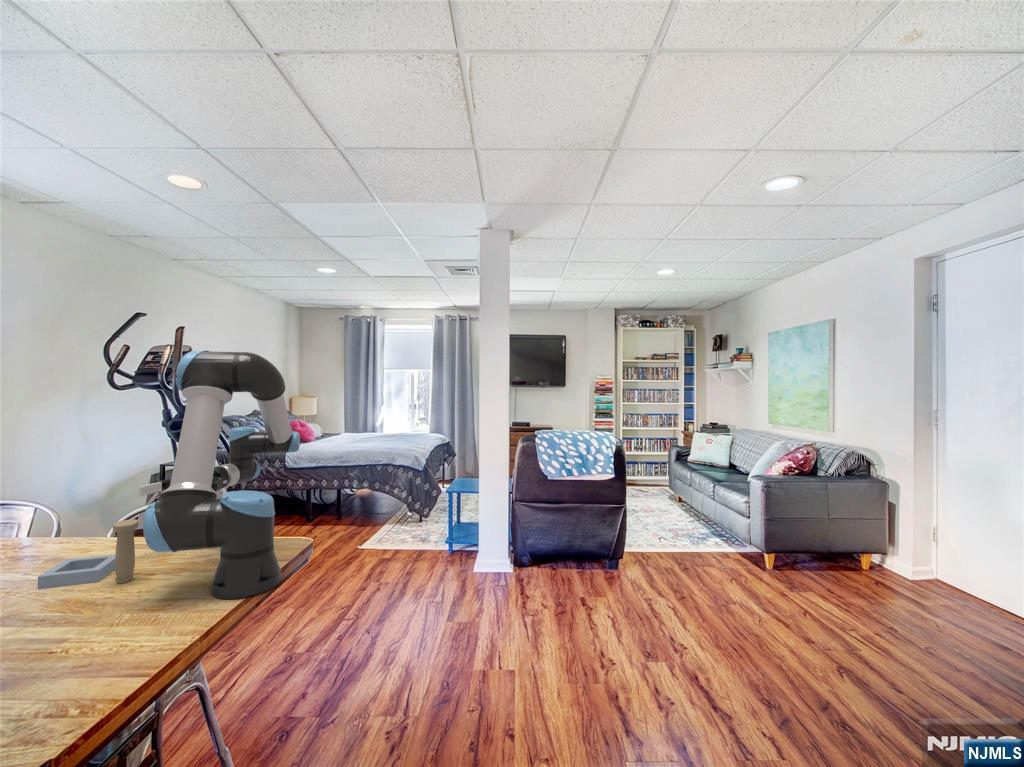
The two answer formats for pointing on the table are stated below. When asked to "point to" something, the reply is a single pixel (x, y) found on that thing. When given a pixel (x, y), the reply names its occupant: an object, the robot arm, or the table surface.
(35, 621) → the table surface
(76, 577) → the socket block
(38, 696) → the table surface
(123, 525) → the handle
